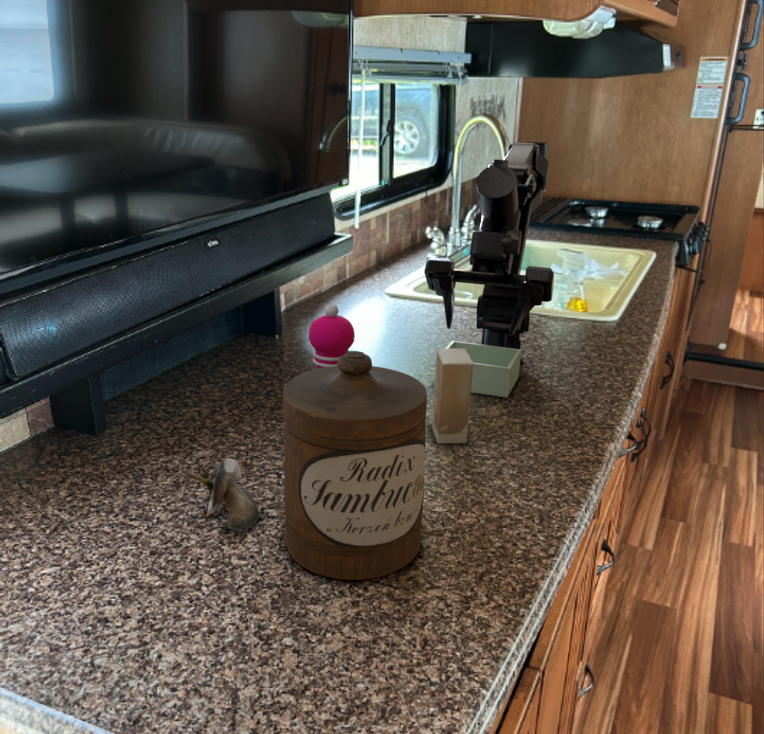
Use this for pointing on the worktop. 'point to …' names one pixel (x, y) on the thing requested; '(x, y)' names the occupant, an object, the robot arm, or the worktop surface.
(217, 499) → the eagle figurine
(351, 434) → the wooden container
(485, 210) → the robot arm
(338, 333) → the pepper mill
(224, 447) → the worktop surface
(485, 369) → the bin
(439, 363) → the cosmetic box
